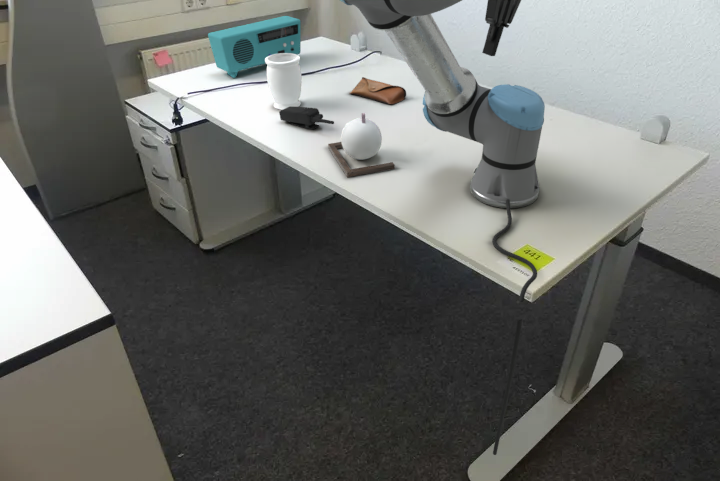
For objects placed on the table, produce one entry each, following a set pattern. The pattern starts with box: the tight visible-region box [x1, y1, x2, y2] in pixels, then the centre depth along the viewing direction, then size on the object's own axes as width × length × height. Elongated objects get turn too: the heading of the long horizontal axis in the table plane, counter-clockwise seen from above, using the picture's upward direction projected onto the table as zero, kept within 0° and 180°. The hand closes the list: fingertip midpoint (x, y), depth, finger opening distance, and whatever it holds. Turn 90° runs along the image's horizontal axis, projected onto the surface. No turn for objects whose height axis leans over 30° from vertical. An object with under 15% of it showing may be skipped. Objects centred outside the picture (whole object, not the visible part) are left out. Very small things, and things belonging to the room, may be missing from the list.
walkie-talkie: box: [278, 106, 335, 130], centre depth 156 cm, size 6×6×20 cm
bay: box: [327, 141, 396, 178], centre depth 141 cm, size 18×12×1 cm
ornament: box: [340, 112, 383, 161], centre depth 138 cm, size 10×10×12 cm
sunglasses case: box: [348, 76, 407, 105], centre depth 176 cm, size 18×7×7 cm, turn 52°
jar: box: [265, 53, 303, 111], centre depth 168 cm, size 11×10×15 cm
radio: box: [207, 15, 302, 79], centre depth 200 cm, size 34×10×15 cm, turn 132°
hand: (488, 54), depth 129 cm, fingers closed
